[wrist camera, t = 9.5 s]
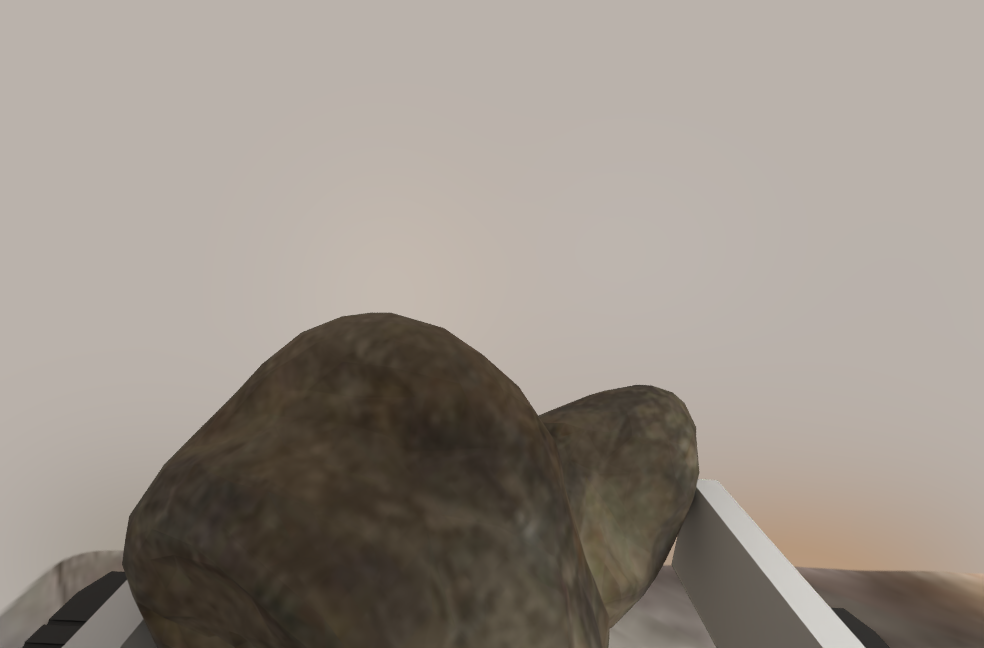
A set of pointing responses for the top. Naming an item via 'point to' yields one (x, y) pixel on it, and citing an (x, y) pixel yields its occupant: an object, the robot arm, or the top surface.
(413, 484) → the decorative stone
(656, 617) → the top surface
